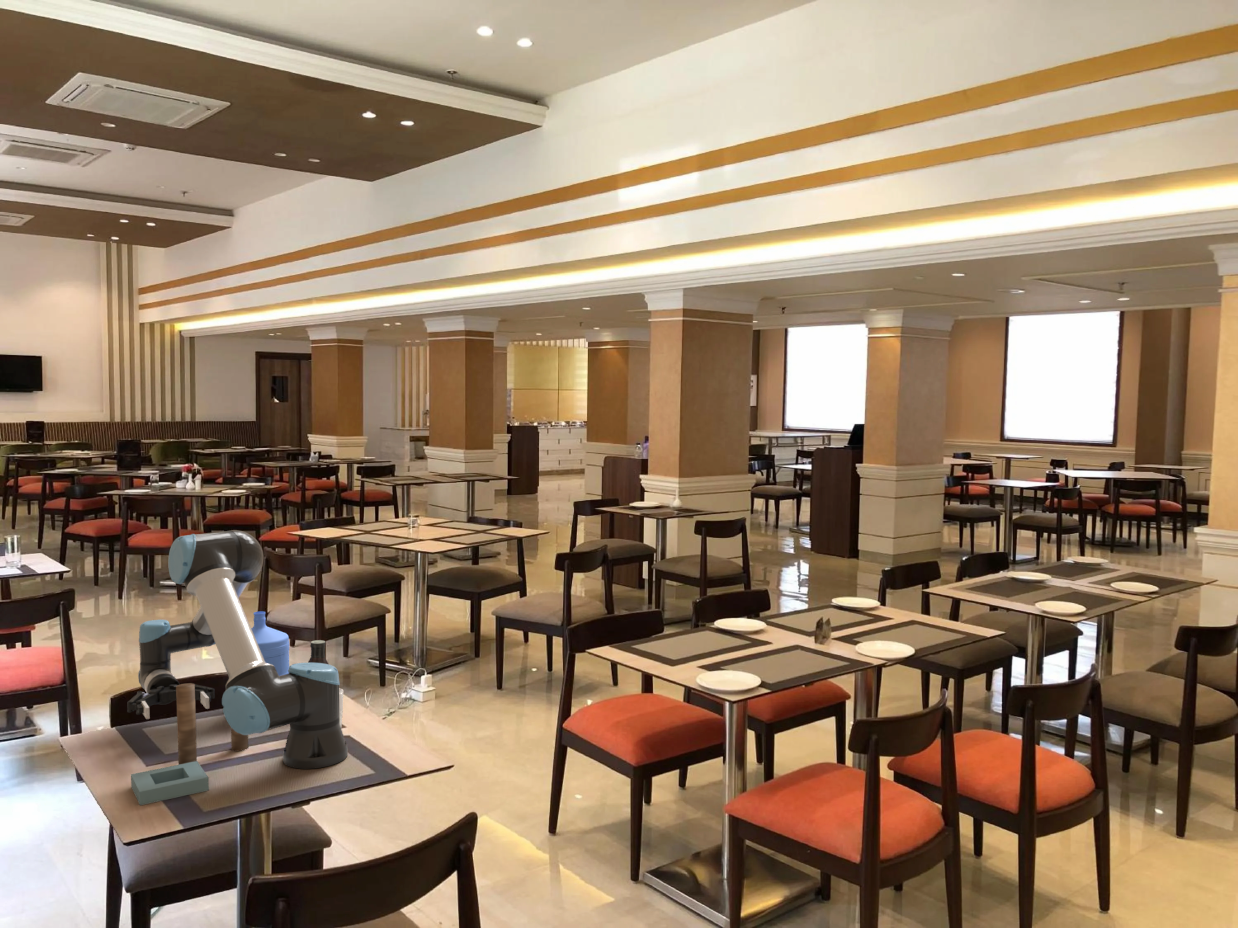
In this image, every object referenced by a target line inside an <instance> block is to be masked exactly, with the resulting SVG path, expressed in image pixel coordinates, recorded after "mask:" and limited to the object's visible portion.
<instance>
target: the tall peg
mask: <svg viewBox="0 0 1238 928" xmlns="http://www.w3.org/2000/svg"><path fill="white" fill-rule="evenodd" d="M192 683H193V682H188V683H181V684H180V683H179V684H180V685H178V686H176V697H177V700H176V722H177V723H176V724H177V726H176V727H177V753H178V754H177V757H178V761H177V762H178V764H177V765H180V764H185V763H190V762H195V761H197V762H198V759H197V758H198V757H197V756H198V755H197V722H196V721H197V720H196V700H195V684H196V683H194V684H192Z"/></svg>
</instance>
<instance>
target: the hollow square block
mask: <svg viewBox="0 0 1238 928" xmlns="http://www.w3.org/2000/svg"><path fill="white" fill-rule="evenodd" d="M209 778H210V777H209V776H208V774H207V773H206V772H205V770H204V769H203V767H202V766H201V765H200V762H198V760H197V761H195V762H190V763H185V764H180V765H178V764H175V765H171V766H165V767H161V768H160V767H159V768H155V769H150V770H146V771H141V772H135V773H130V785H131V786H130V787H131V790H132V792H133V793H134V796H135V798H136V800H137V802H138V805H139V806H143V805H148V804H153V803H157V802H163V801H166V800H170V799H175V798H181V797H185V796H189V795H194V794H198V793H203V792H207V791H209V790H210V787H209V785H210V783H209Z"/></svg>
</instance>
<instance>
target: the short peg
mask: <svg viewBox="0 0 1238 928" xmlns="http://www.w3.org/2000/svg"><path fill="white" fill-rule="evenodd" d="M230 743H231V744H230V746H231V751H232V752H242V750H243V751H246V750H248V749H249V735H242V734H240V733H237V732H236V731H234V730H233V729H232V728H231V727H230ZM247 748H248V749H247ZM245 749H246V750H245Z"/></svg>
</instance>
